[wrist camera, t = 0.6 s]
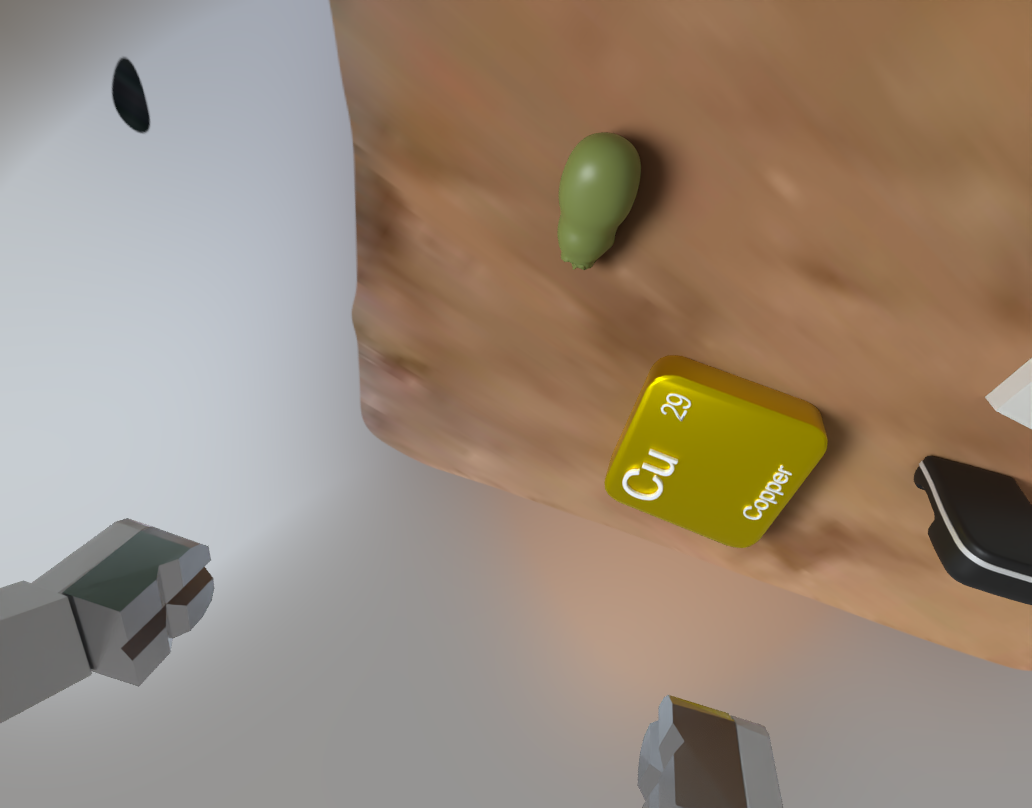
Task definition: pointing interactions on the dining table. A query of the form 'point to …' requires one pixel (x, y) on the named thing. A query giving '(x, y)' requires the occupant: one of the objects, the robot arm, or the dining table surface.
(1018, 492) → the battery charger
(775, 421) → the element tile
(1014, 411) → the plate
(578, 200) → the pear
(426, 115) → the dining table surface
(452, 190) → the dining table surface
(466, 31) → the dining table surface
